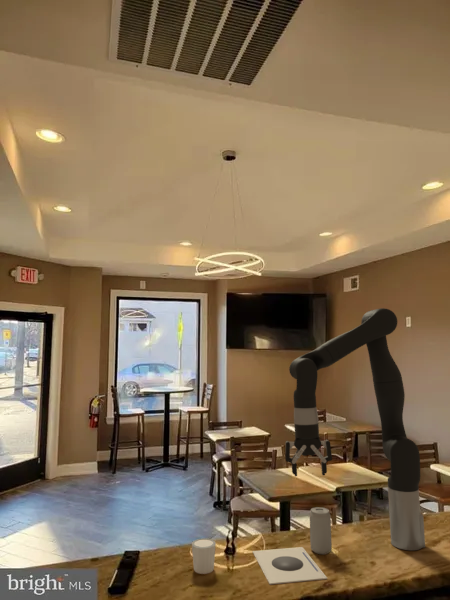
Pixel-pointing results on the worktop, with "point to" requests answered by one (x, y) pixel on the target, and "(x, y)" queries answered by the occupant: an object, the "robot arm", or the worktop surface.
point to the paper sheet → (288, 565)
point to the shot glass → (203, 555)
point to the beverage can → (320, 530)
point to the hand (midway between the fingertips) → (309, 475)
